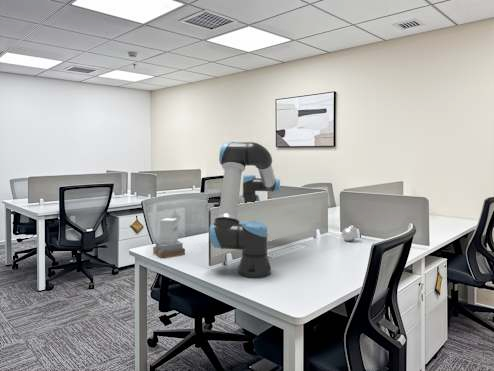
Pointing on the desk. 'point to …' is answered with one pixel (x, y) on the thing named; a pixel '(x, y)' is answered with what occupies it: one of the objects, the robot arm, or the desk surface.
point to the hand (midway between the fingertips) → (202, 204)
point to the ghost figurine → (349, 233)
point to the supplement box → (168, 230)
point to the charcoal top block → (169, 246)
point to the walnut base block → (168, 253)
